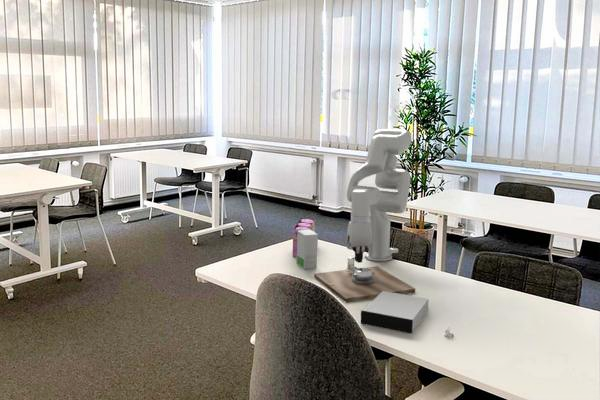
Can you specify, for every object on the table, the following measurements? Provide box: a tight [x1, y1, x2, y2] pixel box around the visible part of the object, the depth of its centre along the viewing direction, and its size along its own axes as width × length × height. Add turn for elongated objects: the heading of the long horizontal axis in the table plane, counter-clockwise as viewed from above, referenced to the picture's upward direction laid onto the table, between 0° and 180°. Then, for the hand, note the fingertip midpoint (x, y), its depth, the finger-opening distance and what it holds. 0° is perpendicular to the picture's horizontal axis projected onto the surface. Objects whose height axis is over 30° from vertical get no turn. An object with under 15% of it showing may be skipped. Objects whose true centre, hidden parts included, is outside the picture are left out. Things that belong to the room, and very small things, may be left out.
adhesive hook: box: [443, 326, 455, 338], centre depth 184 cm, size 3×3×3 cm
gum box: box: [292, 217, 316, 258], centre depth 277 cm, size 24×8×14 cm, turn 171°
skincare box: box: [296, 229, 319, 270], centre depth 253 cm, size 8×7×16 cm
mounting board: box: [313, 265, 416, 303], centre depth 231 cm, size 30×30×2 cm
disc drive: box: [360, 291, 429, 335], centre depth 199 cm, size 18×22×5 cm
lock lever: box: [347, 256, 374, 281], centre depth 234 cm, size 16×9×5 cm, turn 22°
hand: (358, 261), depth 241 cm, fingers closed
